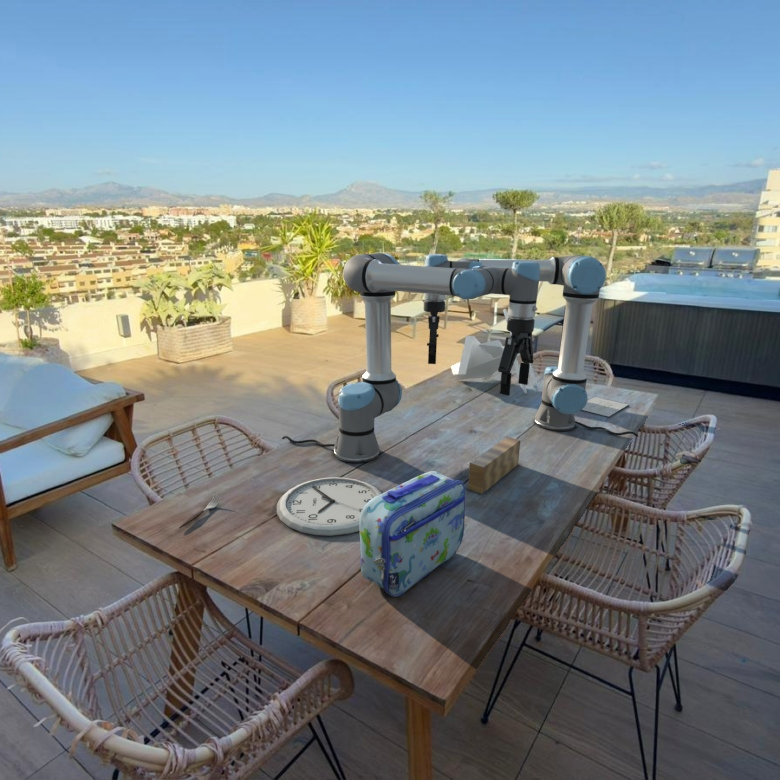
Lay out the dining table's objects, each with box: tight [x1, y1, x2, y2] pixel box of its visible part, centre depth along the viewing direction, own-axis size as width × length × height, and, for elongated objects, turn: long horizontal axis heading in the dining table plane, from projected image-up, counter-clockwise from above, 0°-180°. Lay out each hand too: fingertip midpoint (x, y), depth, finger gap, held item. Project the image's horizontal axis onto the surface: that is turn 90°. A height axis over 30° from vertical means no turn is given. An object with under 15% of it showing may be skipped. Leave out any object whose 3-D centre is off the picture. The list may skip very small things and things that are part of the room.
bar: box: [467, 436, 521, 495], centre depth 160 cm, size 25×5×8 cm, turn 143°
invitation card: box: [581, 396, 629, 418], centre depth 226 cm, size 21×1×15 cm
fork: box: [178, 493, 223, 529], centre depth 137 cm, size 3×16×2 cm, turn 160°
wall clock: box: [276, 476, 384, 537], centre depth 142 cm, size 30×2×30 cm
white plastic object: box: [450, 308, 540, 394], centre depth 253 cm, size 37×45×31 cm
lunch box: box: [358, 470, 466, 598], centre depth 113 cm, size 26×11×21 cm, turn 135°
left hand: (514, 389), depth 154 cm, fingers open, 13 cm apart
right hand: (432, 359), depth 189 cm, fingers open, 13 cm apart
